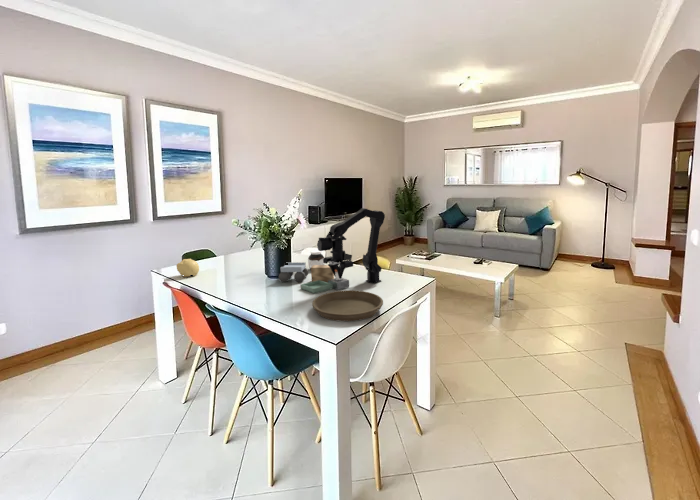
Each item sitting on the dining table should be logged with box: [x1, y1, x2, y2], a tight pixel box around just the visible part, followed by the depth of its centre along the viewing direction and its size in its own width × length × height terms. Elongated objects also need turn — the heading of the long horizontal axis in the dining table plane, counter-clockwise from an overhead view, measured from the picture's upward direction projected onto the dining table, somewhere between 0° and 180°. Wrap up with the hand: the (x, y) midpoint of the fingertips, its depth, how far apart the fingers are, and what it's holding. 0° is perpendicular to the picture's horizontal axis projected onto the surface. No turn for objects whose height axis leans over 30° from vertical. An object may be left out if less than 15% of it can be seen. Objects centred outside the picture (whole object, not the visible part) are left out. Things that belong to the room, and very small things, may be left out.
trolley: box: [278, 262, 309, 283], centre depth 214 cm, size 15×12×9 cm
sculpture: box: [176, 258, 200, 278], centre depth 229 cm, size 11×12×11 cm
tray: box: [300, 280, 334, 295], centre depth 195 cm, size 12×12×2 cm
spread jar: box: [307, 249, 326, 270], centre depth 236 cm, size 12×11×12 cm
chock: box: [310, 264, 335, 283], centre depth 208 cm, size 12×6×9 cm, turn 86°
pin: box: [334, 268, 341, 281], centre depth 196 cm, size 4×4×10 cm
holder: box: [328, 277, 350, 291], centre depth 197 cm, size 8×8×4 cm
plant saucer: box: [311, 289, 384, 322], centre depth 162 cm, size 31×31×5 cm
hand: (338, 277), depth 196 cm, fingers closed on pin, 3 cm apart
